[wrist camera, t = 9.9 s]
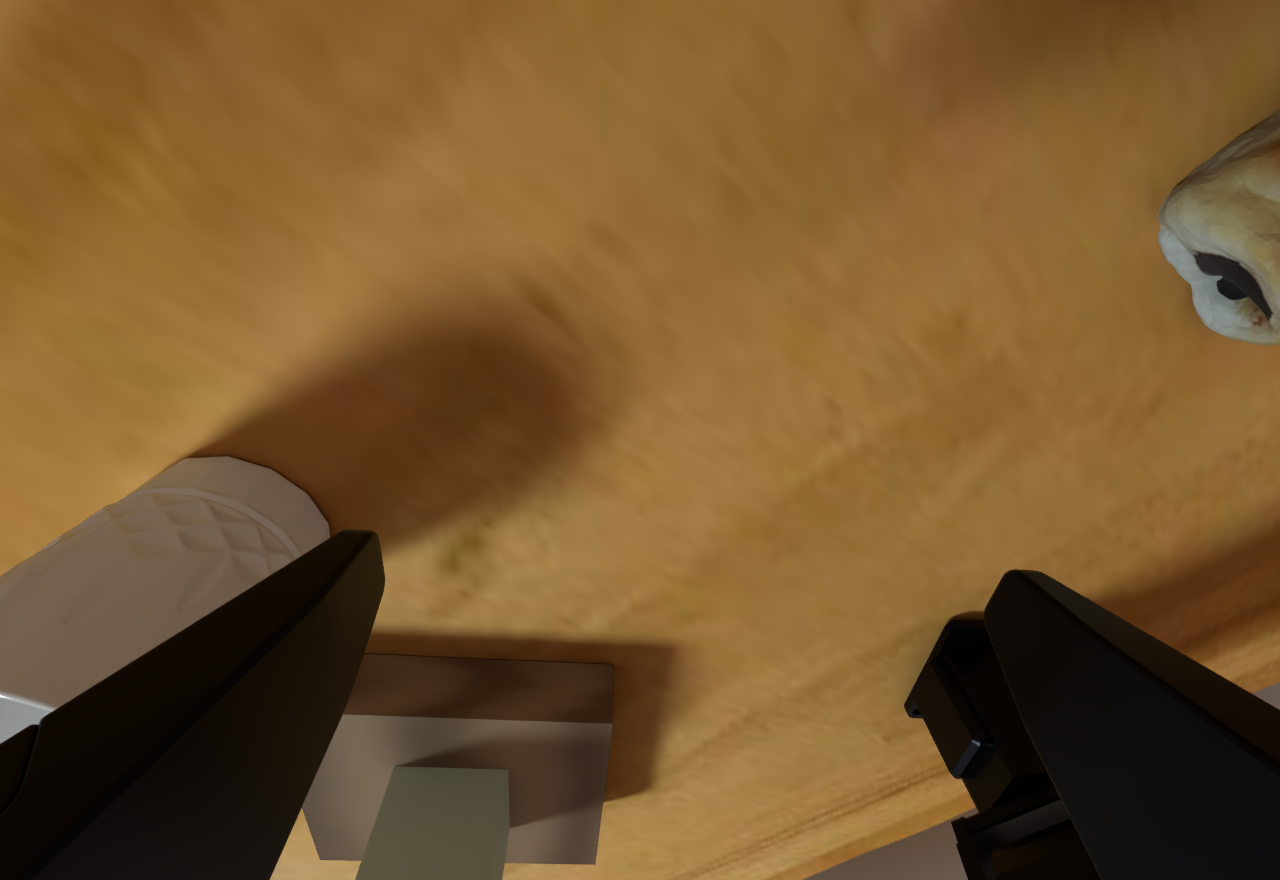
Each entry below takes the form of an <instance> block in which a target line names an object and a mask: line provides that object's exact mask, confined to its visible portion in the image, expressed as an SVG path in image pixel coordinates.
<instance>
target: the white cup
mask: <svg viewBox="0 0 1280 880" xmlns="http://www.w3.org/2000/svg"><path fill="white" fill-rule="evenodd" d="M329 538H330V530H329V524H328V522H327V521H326V519H325V518H324V516H323V515H322V514H321V512H320V511H319V509H318V508H317V506H316V505H315V504H314V502H313V501H312V499H311V498H310V496H309V495H308V494H307V493H306V492H304V491H303V490H301V489H300V488H298V487H297V486H296V485H294V484H293V483H291V482H290V481H288V480H287V479H285V478H284V477H282V476H281V475H280V474H278V473H277V472H275V471H274V470H272V469H269V468H266V467H263V466H259V465H256V464H253V463H249V462H246V461H243V460H239V459H236V458H232V457H229V456H220V457H201V458H185V459H183V460H181V461H179V462H178V463H176V464H174V465H172V466H171V467H169V468H167V469H166V470H164V471H162V472H160V473H159V474H157V475H155V476H154V477H152V478H151V479H149V480H148V481H146V482H145V483H144V484H142V485H141V486H139V487H138V488H137V489H135V490H134V491H133V492H131V493H130V494H128V495H127V496H126V497H124V498H123V499H121V500H119V501H118V502H116V503H113V504H110V505H107V506H105V507H103V508H102V509H100V510H99V511H97V512H96V513H94V514H93V515H91V516H90V517H89V518H87V519H86V520H84V521H83V522H82V523H81V524H79V525H78V526H76V527H74V528H72V529H71V530H69V531H67V532H65V533H64V534H62V535H61V536H59V537H58V538H57V539H55V540H54V541H52V542H51V543H50V544H48V545H47V546H45V547H44V548H43V549H41V550H40V551H39V552H37V553H36V554H35V555H33V556H31V557H30V558H28V559H26V560H24V561H23V562H21V563H19V564H18V565H16V566H14V567H13V568H11V569H10V570H9V571H7V572H6V573H4V574H3V575H2V576H0V743H2V742H4V741H5V740H7V739H8V738H10V737H12V736H13V735H15V734H16V733H18V732H20V731H21V730H23V729H24V728H26V727H28V726H29V725H32V724H37V725H39V722H40V720H41V719H42V718H43V717H44V716H46V715H47V714H49V713H50V712H52V711H54V710H55V709H57V708H58V707H60V706H62V705H63V704H65V703H66V702H68V701H70V700H71V699H73V698H74V697H76V696H78V695H79V694H81V693H82V692H84V691H86V690H87V689H89V688H90V687H92V686H94V685H95V684H97V683H98V682H100V681H102V680H103V679H105V678H106V677H108V676H110V675H111V674H113V673H114V672H116V671H118V670H119V669H121V668H122V667H124V666H126V665H127V664H129V663H130V662H132V661H134V660H135V659H137V658H138V657H140V656H142V655H143V654H145V653H146V652H148V651H150V650H151V649H153V648H154V647H156V646H158V645H159V644H161V643H162V642H164V641H166V640H167V639H169V638H170V637H172V636H174V635H175V634H177V633H178V632H180V631H182V630H183V629H185V628H186V627H188V626H190V625H191V624H193V623H194V622H196V621H198V620H199V619H201V618H202V617H204V616H206V615H207V614H209V613H210V612H212V611H214V610H215V609H217V608H218V607H220V606H222V605H223V604H225V603H226V602H228V601H230V600H231V599H233V598H234V597H236V596H238V595H239V594H241V593H242V592H244V591H246V590H247V589H249V588H250V587H252V586H254V585H255V584H257V583H258V582H260V581H262V580H263V579H265V578H266V577H268V576H270V575H271V574H273V573H274V572H276V571H278V570H279V569H281V568H282V567H284V566H286V565H287V564H289V563H290V562H292V561H293V560H295V559H297V558H298V557H300V556H301V555H303V554H305V553H306V552H308V551H309V550H311V549H313V548H314V547H316V546H317V545H319V544H321V543H322V542H324V541H325V540H327V539H329Z"/></svg>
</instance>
